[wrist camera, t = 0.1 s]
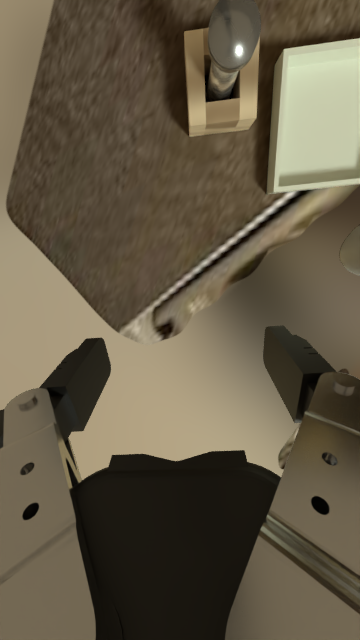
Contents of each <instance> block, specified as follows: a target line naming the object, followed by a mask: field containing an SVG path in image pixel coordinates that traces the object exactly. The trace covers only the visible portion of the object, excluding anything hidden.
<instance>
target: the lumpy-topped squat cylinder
mask: <svg viewBox="0 0 360 640" xmlns="http://www.w3.org/2000/svg"><path fill="white" fill-rule="evenodd" d="M339 256H340V261H341V263H342V265H343V266H344V267H345V268H346V269H347V270H348V271H350V272H352V273H354V274H356V275H359V276H360V225H358V226H357V227H356V228H355V229H354V230H353V231H352V232H351V233H350V234H349V235H348V236H347V238H346V239H345V241H344V242H343V244H342V246H341V248H340V253H339Z"/></svg>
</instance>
